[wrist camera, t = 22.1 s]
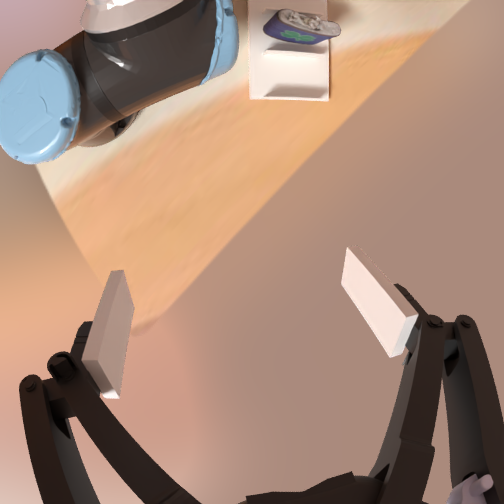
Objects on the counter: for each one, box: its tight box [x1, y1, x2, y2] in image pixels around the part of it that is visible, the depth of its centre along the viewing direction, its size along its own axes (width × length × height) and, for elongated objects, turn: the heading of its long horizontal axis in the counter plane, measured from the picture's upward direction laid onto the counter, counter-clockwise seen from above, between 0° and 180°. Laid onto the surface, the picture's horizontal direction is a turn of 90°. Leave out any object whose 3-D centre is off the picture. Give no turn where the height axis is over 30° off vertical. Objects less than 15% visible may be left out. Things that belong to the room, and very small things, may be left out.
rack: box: [247, 0, 329, 101], centre depth 37 cm, size 13×23×4 cm, turn 0°
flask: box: [263, 9, 341, 45], centre depth 33 cm, size 9×3×11 cm, turn 81°
